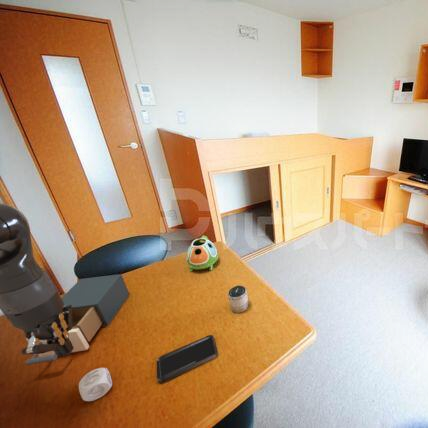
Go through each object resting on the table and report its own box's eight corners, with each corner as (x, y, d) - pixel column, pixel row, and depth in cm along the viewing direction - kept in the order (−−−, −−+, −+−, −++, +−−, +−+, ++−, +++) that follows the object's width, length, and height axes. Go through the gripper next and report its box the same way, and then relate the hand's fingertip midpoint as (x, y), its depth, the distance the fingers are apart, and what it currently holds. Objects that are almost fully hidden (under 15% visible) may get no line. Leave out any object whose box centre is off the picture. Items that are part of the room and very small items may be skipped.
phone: (156, 357, 68) (212, 333, 75) (157, 360, 68) (213, 335, 75) (156, 383, 62) (217, 354, 69) (158, 385, 62) (218, 356, 69)
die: (111, 375, 64) (104, 363, 62) (113, 390, 61) (105, 378, 59) (86, 388, 61) (78, 377, 59) (87, 405, 58) (78, 393, 56)
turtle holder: (221, 249, 120) (217, 228, 115) (216, 271, 104) (211, 248, 99) (194, 252, 117) (189, 231, 112) (185, 275, 101) (179, 252, 96)
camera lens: (250, 300, 89) (248, 283, 86) (246, 313, 84) (243, 296, 80) (233, 300, 89) (230, 284, 86) (228, 313, 83) (224, 296, 80)
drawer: (73, 369, 65) (60, 350, 61) (22, 378, 62) (5, 359, 59) (112, 313, 82) (103, 296, 78) (72, 319, 79) (62, 302, 76)
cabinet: (108, 325, 78) (97, 304, 74) (62, 332, 76) (48, 310, 72) (129, 293, 91) (121, 274, 87) (91, 299, 89) (80, 278, 85)
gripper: (28, 281, 54) (63, 334, 61) (-25, 329, 42) (26, 386, 50) (70, 274, 56) (99, 326, 63) (30, 318, 45) (71, 374, 52)
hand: (67, 352), depth 57 cm, fingers closed
